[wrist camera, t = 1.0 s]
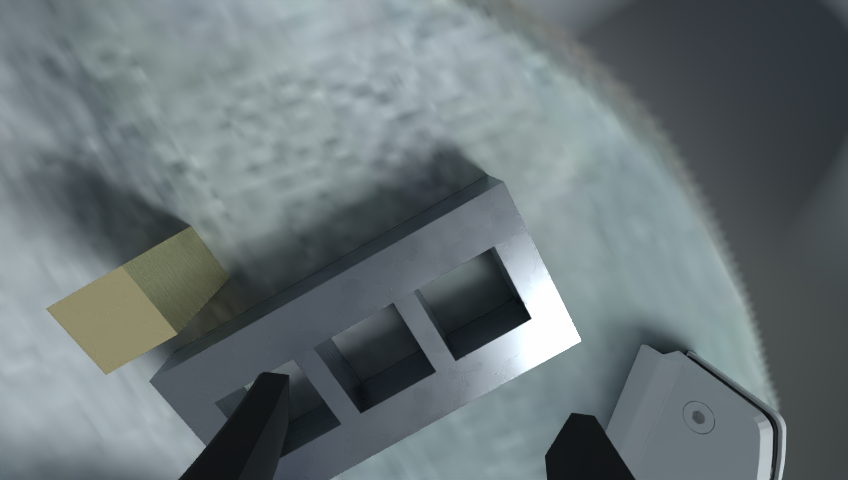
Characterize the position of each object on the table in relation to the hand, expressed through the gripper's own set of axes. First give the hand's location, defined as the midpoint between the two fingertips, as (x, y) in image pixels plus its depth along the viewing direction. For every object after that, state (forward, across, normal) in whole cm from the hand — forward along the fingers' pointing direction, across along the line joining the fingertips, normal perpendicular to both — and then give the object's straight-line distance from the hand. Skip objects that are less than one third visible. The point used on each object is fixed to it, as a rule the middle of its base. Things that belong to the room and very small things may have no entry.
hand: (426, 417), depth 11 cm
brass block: (+15, +14, +10) cm, 23 cm away
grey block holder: (+15, +2, +13) cm, 20 cm away
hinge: (+15, -22, +20) cm, 33 cm away
